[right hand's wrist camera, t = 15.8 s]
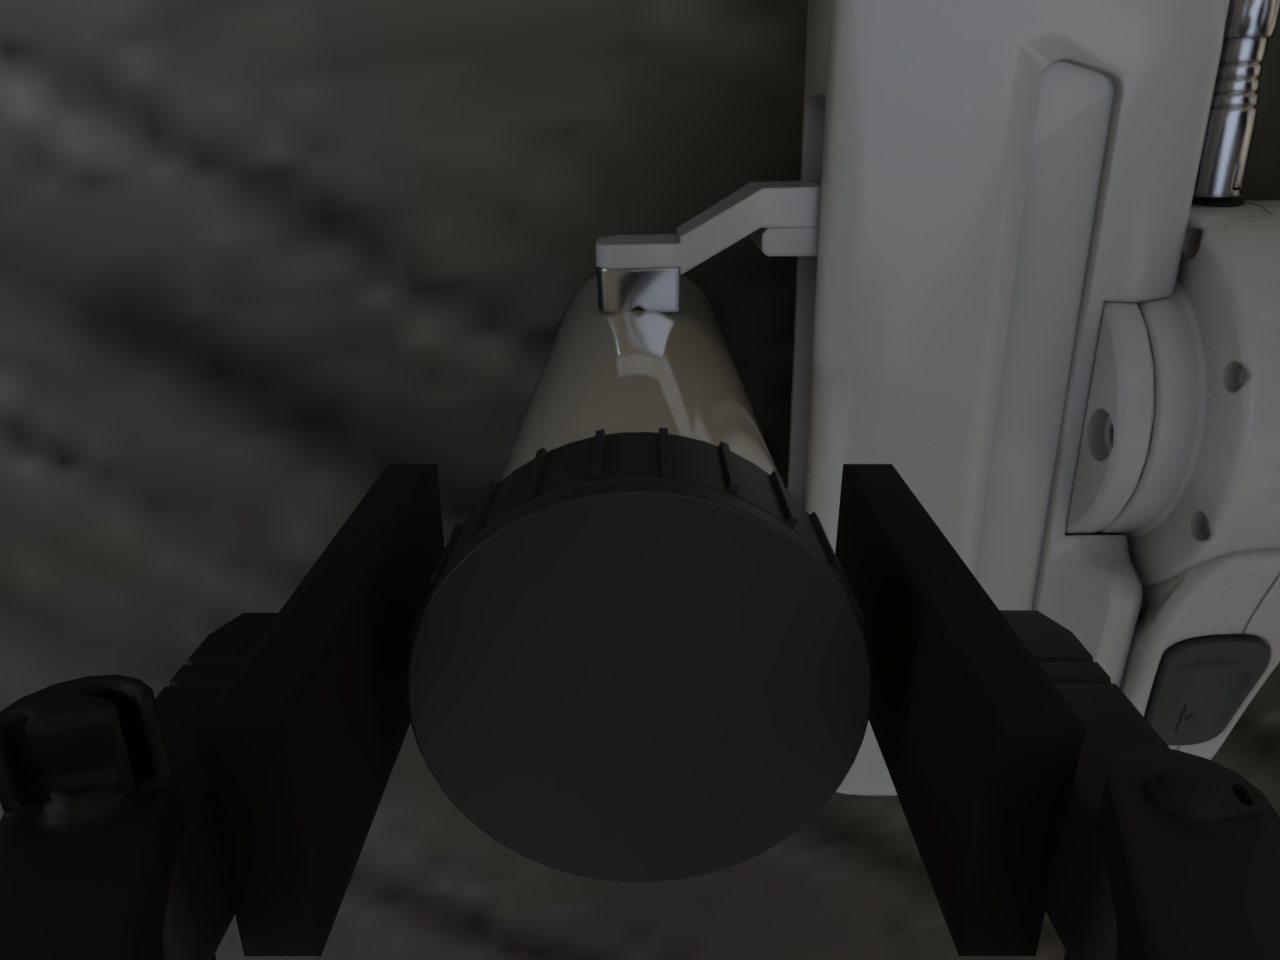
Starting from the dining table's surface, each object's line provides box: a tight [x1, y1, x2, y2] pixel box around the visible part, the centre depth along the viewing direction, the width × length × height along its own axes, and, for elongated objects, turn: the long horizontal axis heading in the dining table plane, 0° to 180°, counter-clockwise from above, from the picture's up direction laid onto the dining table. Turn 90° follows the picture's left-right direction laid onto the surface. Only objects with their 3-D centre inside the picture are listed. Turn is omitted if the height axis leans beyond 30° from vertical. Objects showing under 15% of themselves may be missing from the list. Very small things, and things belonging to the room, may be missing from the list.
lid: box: [407, 427, 872, 882], centre depth 11 cm, size 6×6×2 cm
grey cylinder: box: [498, 272, 778, 483], centre depth 19 cm, size 5×5×18 cm
